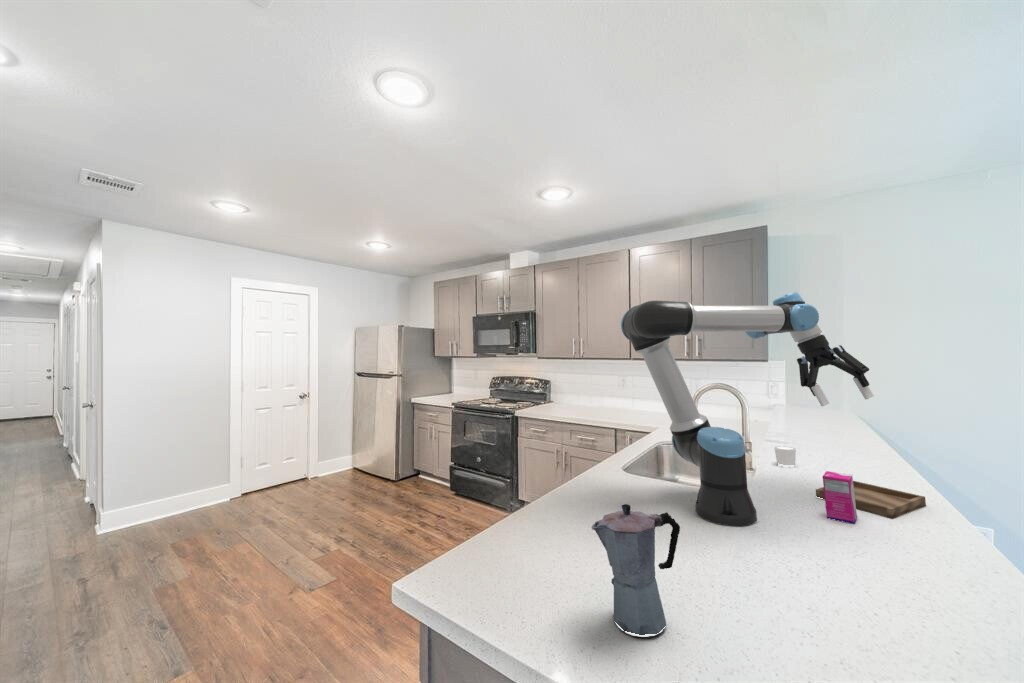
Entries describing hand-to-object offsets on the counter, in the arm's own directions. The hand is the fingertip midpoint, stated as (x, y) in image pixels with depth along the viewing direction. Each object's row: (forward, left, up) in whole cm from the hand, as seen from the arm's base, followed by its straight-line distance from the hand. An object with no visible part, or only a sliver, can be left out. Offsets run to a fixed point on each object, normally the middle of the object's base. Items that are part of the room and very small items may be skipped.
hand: (846, 401), depth 118 cm
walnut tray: (0, -3, -29) cm, 29 cm away
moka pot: (-94, -13, -29) cm, 99 cm away
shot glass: (+17, +30, -29) cm, 45 cm away
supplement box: (-19, -6, -29) cm, 35 cm away
